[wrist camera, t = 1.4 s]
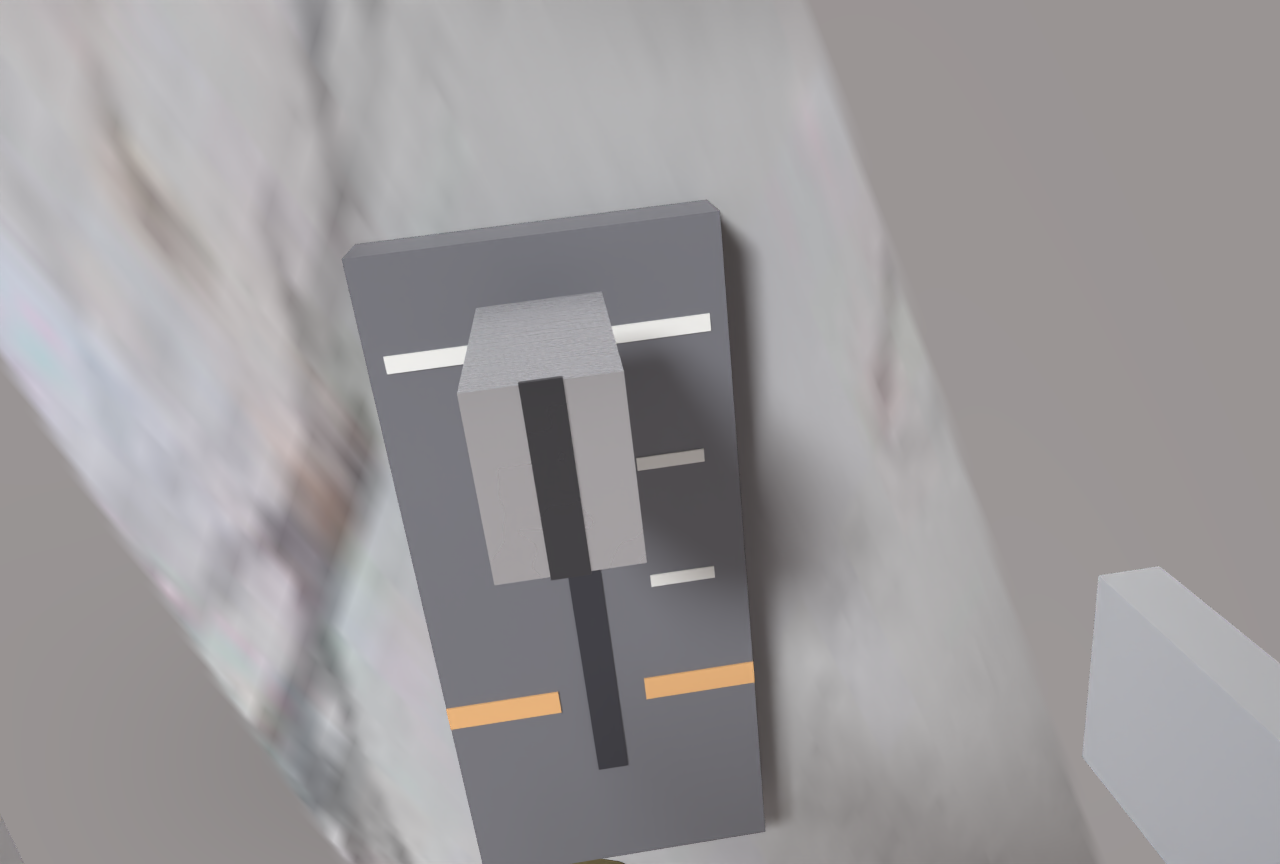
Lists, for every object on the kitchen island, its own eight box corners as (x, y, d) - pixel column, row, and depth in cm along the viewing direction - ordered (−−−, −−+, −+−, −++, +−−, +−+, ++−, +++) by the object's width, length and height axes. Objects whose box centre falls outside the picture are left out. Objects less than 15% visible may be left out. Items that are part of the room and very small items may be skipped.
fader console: (355, 244, 26) (341, 259, 24) (707, 199, 27) (720, 211, 25) (488, 833, 35) (485, 879, 33) (753, 790, 35) (765, 832, 33)
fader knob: (481, 280, 25) (456, 391, 17) (594, 266, 25) (623, 369, 17) (506, 424, 26) (494, 589, 18) (612, 409, 26) (647, 566, 18)
